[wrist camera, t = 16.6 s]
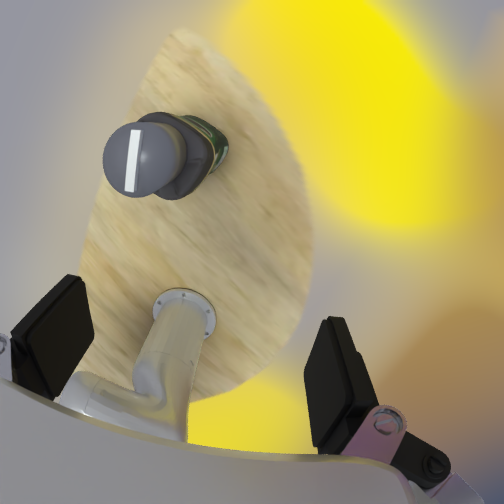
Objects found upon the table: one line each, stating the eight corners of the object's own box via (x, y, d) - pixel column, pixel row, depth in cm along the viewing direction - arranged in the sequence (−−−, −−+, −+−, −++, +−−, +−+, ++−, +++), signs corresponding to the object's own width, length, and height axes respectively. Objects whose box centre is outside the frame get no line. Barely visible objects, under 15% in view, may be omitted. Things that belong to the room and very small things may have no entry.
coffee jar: (159, 150, 42) (100, 167, 25) (186, 108, 39) (138, 97, 22) (208, 183, 44) (176, 218, 27) (237, 142, 41) (222, 150, 24)
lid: (132, 120, 23) (103, 120, 18) (192, 126, 24) (174, 125, 18) (125, 180, 26) (97, 194, 20) (182, 189, 26) (163, 204, 21)
